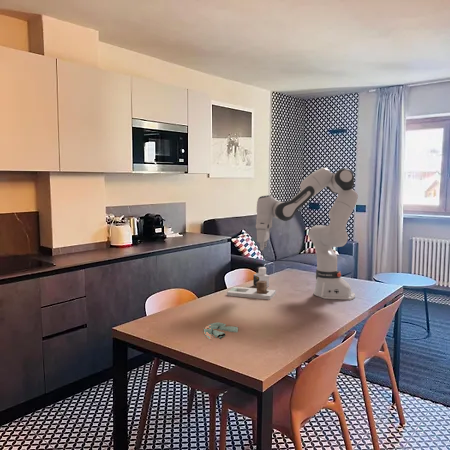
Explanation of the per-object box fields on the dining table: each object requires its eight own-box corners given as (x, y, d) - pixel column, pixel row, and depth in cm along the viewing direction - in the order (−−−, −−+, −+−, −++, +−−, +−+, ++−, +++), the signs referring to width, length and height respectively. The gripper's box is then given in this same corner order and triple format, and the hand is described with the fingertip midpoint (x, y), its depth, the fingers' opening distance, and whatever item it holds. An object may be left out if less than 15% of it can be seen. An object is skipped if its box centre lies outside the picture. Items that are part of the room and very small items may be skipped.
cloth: (216, 322, 195) (216, 316, 195) (255, 332, 181) (255, 327, 181) (185, 334, 179) (185, 329, 179) (225, 347, 166) (225, 341, 165)
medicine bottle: (253, 285, 259) (253, 266, 258) (263, 284, 262) (263, 265, 261) (258, 288, 253) (258, 268, 251) (269, 286, 256) (269, 267, 254)
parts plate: (275, 293, 240) (275, 290, 240) (270, 299, 228) (270, 296, 228) (234, 289, 249) (234, 286, 249) (226, 295, 237) (226, 292, 237)
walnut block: (266, 294, 238) (266, 281, 237) (264, 297, 234) (264, 282, 233) (258, 294, 240) (259, 280, 239) (256, 296, 235) (256, 282, 235)
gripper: (261, 222, 246) (261, 246, 247) (255, 225, 226) (254, 251, 227) (272, 223, 244) (271, 246, 245) (266, 226, 224) (265, 251, 226)
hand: (263, 248), depth 236 cm, fingers open, 8 cm apart
